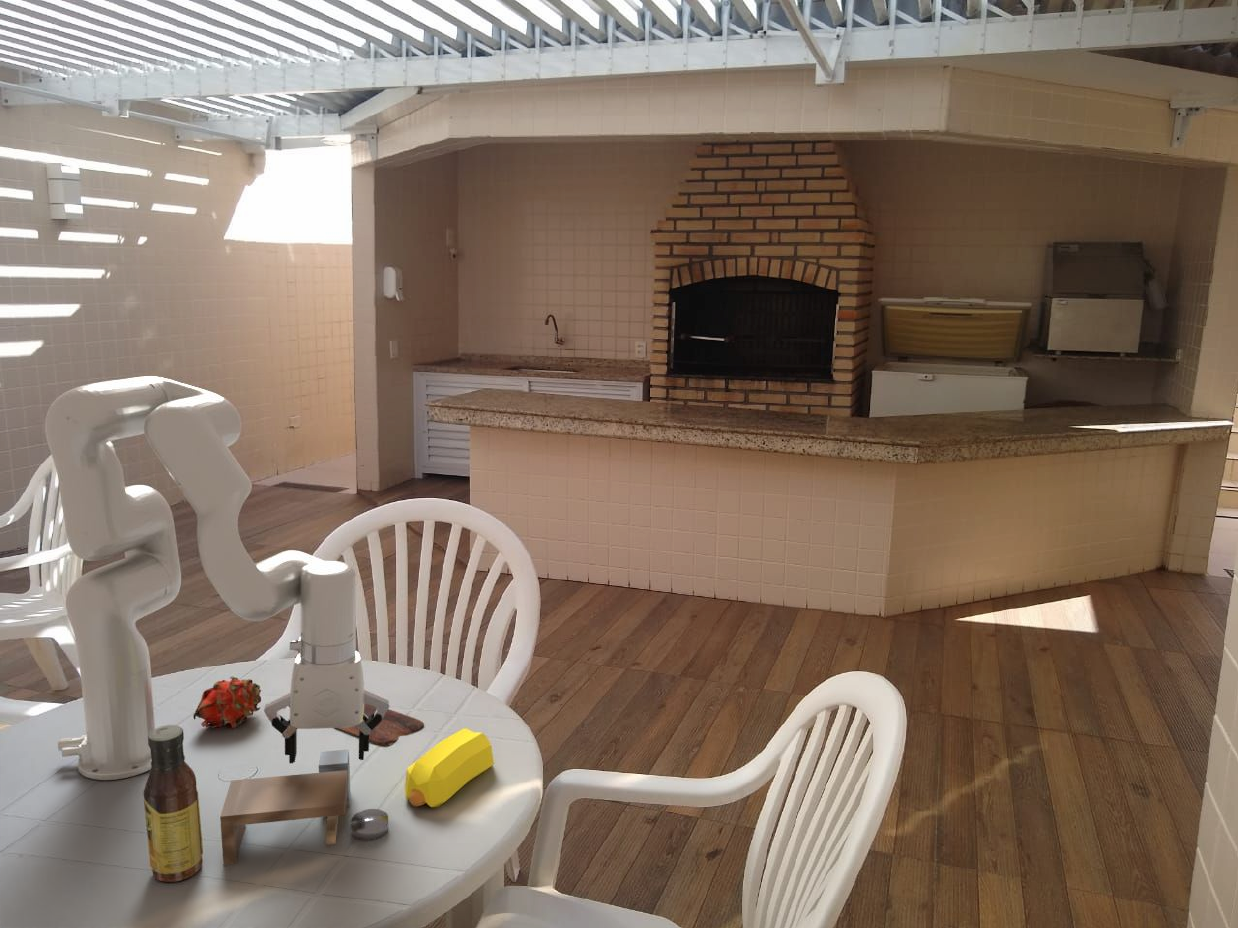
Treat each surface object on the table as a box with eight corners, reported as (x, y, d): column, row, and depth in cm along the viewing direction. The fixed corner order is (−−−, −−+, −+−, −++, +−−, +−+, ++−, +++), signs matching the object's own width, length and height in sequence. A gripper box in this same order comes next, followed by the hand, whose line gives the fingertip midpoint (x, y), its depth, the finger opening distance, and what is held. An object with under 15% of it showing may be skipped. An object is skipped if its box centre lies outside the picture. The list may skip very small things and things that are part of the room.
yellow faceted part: (504, 764, 154) (465, 752, 157) (504, 725, 153) (464, 714, 156) (433, 819, 138) (391, 805, 142) (433, 777, 137) (390, 763, 140)
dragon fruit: (269, 720, 169) (202, 753, 161) (245, 683, 172) (179, 713, 164) (276, 695, 164) (207, 728, 156) (251, 657, 167) (182, 687, 159)
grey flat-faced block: (315, 845, 131) (313, 799, 130) (322, 794, 143) (320, 751, 142) (346, 842, 132) (344, 796, 131) (350, 792, 144) (348, 749, 143)
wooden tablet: (277, 701, 171) (322, 675, 179) (279, 712, 172) (323, 686, 180) (384, 744, 157) (427, 714, 165) (386, 756, 158) (428, 726, 166)
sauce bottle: (162, 856, 128) (150, 718, 124) (210, 855, 129) (201, 717, 124) (142, 887, 122) (129, 742, 118) (193, 886, 122) (182, 742, 118)
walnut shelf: (223, 864, 127) (220, 816, 125) (234, 826, 135) (231, 780, 134) (346, 851, 130) (344, 804, 129) (349, 814, 139) (347, 770, 137)
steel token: (349, 843, 132) (349, 830, 132) (353, 822, 137) (352, 810, 137) (387, 840, 133) (386, 827, 133) (389, 820, 138) (389, 807, 137)
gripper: (260, 660, 132) (261, 773, 136) (390, 657, 136) (388, 767, 140) (267, 638, 139) (268, 746, 143) (390, 636, 143) (388, 741, 147)
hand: (327, 756), depth 141 cm, fingers open, 9 cm apart
